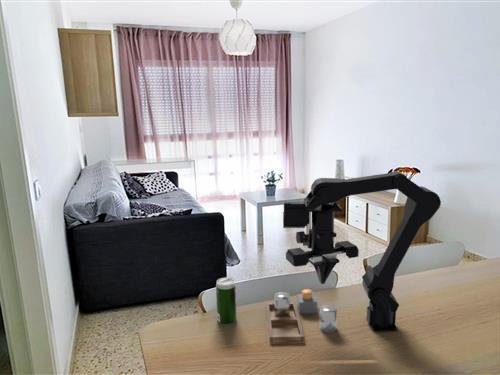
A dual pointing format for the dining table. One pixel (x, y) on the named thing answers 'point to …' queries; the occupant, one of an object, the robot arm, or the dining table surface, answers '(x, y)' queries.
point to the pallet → (284, 326)
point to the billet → (328, 318)
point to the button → (307, 294)
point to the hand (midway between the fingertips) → (322, 283)
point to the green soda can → (226, 301)
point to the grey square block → (306, 304)
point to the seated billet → (282, 304)
